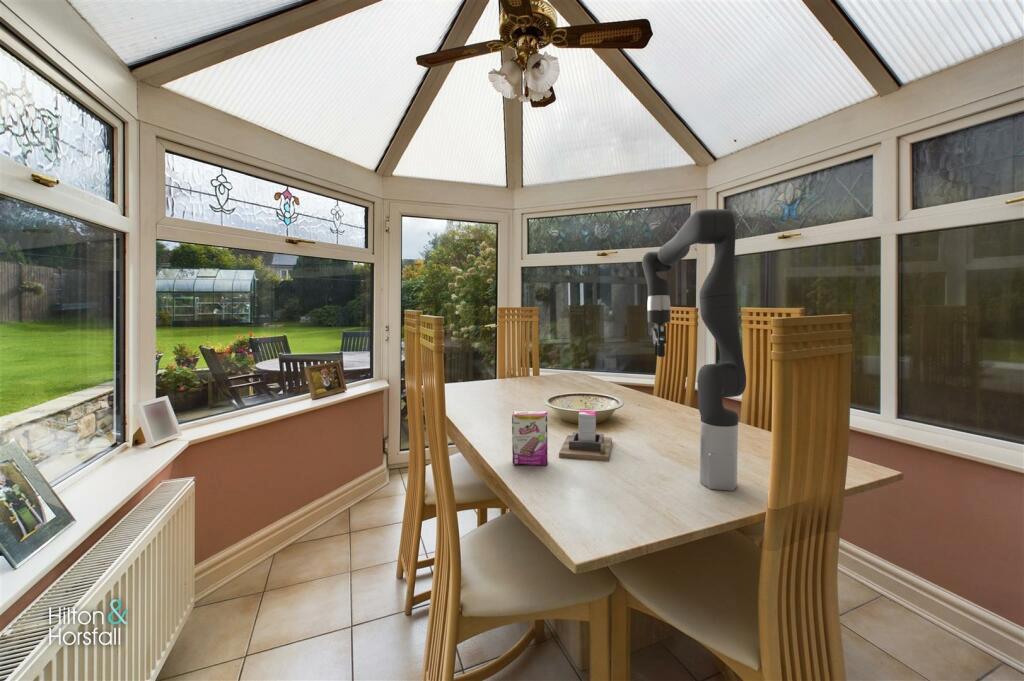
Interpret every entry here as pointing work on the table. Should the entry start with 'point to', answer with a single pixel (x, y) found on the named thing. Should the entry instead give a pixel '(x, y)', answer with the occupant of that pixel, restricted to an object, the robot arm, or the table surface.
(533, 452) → the candy bar box
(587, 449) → the nest plate
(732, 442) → the robot arm
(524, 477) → the table surface
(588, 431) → the supplement box
